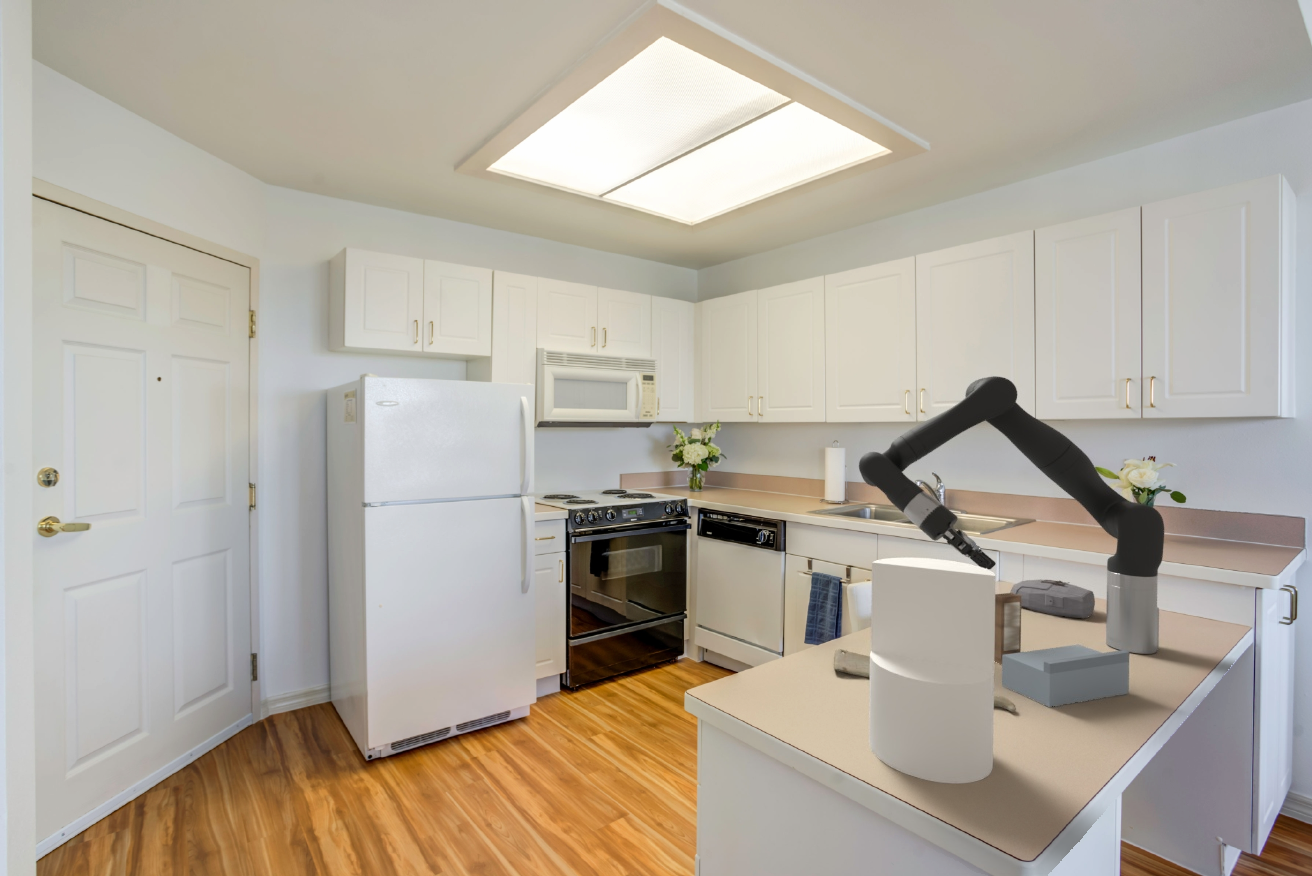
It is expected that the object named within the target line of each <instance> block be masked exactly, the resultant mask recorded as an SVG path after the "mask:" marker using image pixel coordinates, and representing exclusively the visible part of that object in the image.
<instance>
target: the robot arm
mask: <svg viewBox="0 0 1312 876" xmlns="http://www.w3.org/2000/svg"><path fill="white" fill-rule="evenodd" d="M1017 400H1018V390H1017V386H1016V385H1015V384H1014V383H1013V382H1012V381H1011V380H1010V379H1008V378H1006V377H1002V376H993V375H992V376H988V377H982V378H979V379H976V380H974V381H973V382H972V383H970V384H969V385H968V386H967V388H966V391H965V398H963V399H962V400H961V401H959V402H958V403H956V404H955V405H954V406H952V407H949V409H947V410H945V411H943V412H941V413H939V414H938V415H935V416H933V417H932V418H930V419H927V420H926V421H923V422H921V423H920V424H918V425H916V426H914V427H912V428H911V429H909V430H908V431H906V432H905V433H903V434H901V435H900V436H899V437H897V438H896V439H894V441H892V442H891V444H890V446H889V448H888V449H887V450H885V451H884V452H883V453H881V452H876V451H870V452H867V453H865V454H863V456H861V458H860V460H859V461H858V462H859V463H858V469H859V472H860V474H861V478H862V479H863V481H864V482H865V483H866V484H867V485H868V486H870V487H877V489H879V490H880V491H881V492H882V493H883V494H884V495H885V496H886V499H888V501H890V503H892V504H893V506H894V507H896V508H897V509H898V510H900V511H901V512H902V513H903V514H904V515H905V516H906V517H907V519H908V520H910V522H912V524H914V525H915V526H916V527H917V528H919V529H920V530H921V531H922V532H923V533H924V534H926V535H927V536H928V537H929V538H930V539H931V540H933V541H934V542H937V541H939V540H940V539H944V540H946V543H947V545H949V546H951V547H952V548H954V549H955V550H956V551H957V553H960V554H961V555H963V556H964V557H966V558H969V559H970V560H971V561H972V562H973V563H974V564H976V566H979V567H982V568H985V569H988V570H992V569H993V568H994V567H995V566H996V565H997V564H996V561H995V560H993V559H992V558H991V557H990V556H989V555H988V554H986V553H985V552H984V551H983V550H982V548H981V547H980V546H979V545H977V543H976V542H975V540H973V539H972V538H971V537H969V536H968V534H967V533H966V532H965V531H963V530H962V529H956V528H954V526H955V524H956V523H957V521H958V515H956V514H955V513H954V512H952V511H951V509H949V508H947V506H945V505H944V504H942V502H940V501H939V500H938V499H936V498H935V497H934V496H933V495H932V494H929V493H928V492H927V491H925V490H924V489H923V488H922V487H920V486H919V485H918V484H917V483H915V482H914V481H913V480H911V479H910V478H909V477H908V476H906V475H905V473H904V471H905V470H906V469H907V468H908V467H910V466H911V465H912V464H914V463H916V462H918V461H919V460H921V459H922V458H924V457H925V456H927V455H930V453H932V452H933V451H935V450H936V449H938V448H940V447H941V446H943V445H944V444H946V443H948V441H950V440H952V439H953V438H955V437H956V436H958V435H960V434H962V433H964V432H965V431H967V430H969V429H971V428H973V427H974V426H977V425H979V424H982V422H987V423H988V424H989V425H991V426H992V427H994V428H995V429H996V430H998V431H999V432H1000V433H1001V434H1002V435H1004V436H1005V437H1006V438H1007V439H1008V440H1009V441H1010V442H1011V444H1013V446H1015V448H1017V450H1019V451H1020V453H1022V454H1023V455H1024V456H1025V457H1026V458H1027V459H1028V460H1029V461H1030V462H1031V463H1032V464H1033V465H1034V466H1035V467H1036V468H1037V469H1038V470H1040V471H1041V472H1042V473H1043V474H1044V475H1045V476H1046V477H1047V478H1048V479H1050V480H1051V481H1052V482H1053V483H1055V485H1056V486H1058V487H1060V489H1062V490H1063V491H1064V492H1065V493H1067V495H1069V496H1070V497H1072V498H1074V500H1075V501H1077V502H1078V503H1079V504H1080V505H1081V506H1082V507H1083V508H1084V509H1085V510H1086V512H1088V513H1089V515H1090V516H1091V517H1092V518H1093V519H1094V520H1095V522H1097V524H1099V526H1100V527H1101V528H1102V529H1103V530H1104V531H1105V532H1106V533H1107V534H1108V535H1109V536H1111V537H1112V538H1114V539H1116V540H1117V541H1116V552H1115V553H1114V555H1111V556H1110V557H1109V558H1108V559H1107V560H1106V561H1107V563H1106V614H1105V615H1106V618H1105V621H1106V624H1105V628H1106V629H1105V630H1106V631H1105V632H1106V633H1105V636H1106V637H1105V643H1106V645H1107V646H1109V647H1111V648H1114V649H1115V650H1116V649H1117V650H1118V651H1120V650H1124V651H1127V652H1129V653H1134V654H1140V655H1141V654H1142V655H1143V654H1145V655H1147V654H1149V655H1151V654H1152V655H1153V654H1155V653H1157V650H1159V649H1160V648H1159V643H1160V641H1159V639H1160V608H1159V607H1158V579H1159V578H1158V576H1159V575H1158V573H1159V567H1160V566H1161V564H1162V562H1163V557H1164V544H1165V524H1164V519H1163V516H1162V515H1161V513H1160V512H1159V511H1158V509H1156V508H1155V507H1153V506H1150V505H1148V504H1143V503H1139V502H1132V501H1131V500H1128V499H1127V498H1126V497H1124V496H1122V495H1121V494H1120V493H1118V492H1117V491H1115V489H1113V488H1112V487H1110V486H1109V485H1108V484H1107V483H1106V482H1105V481H1104V480H1103V478H1102V477H1101V475H1100V474H1099V473H1098V472H1099V471H1097V469H1096V467H1095V465H1094V463H1093V462H1092V460H1091V459H1090V457H1089V456H1087V454H1086V453H1085V452H1084V451H1083V450H1082V449H1081V448H1079V447H1078V446H1077V445H1076V444H1075V442H1073V441H1072V440H1071V439H1070V438H1068V437H1067V436H1066V435H1064V434H1063V433H1061V432H1060V431H1058V430H1057V429H1055V428H1054V427H1052V426H1050V425H1049V424H1047V423H1045V422H1043V421H1042V420H1039V419H1038V418H1036V417H1034V416H1032V415H1031V414H1030V413H1028V411H1026V410H1025V409H1024V408H1022V407H1021V406H1020V405H1019V404H1018V403H1017Z"/></svg>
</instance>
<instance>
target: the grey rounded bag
mask: <svg viewBox="0 0 1312 876" xmlns="http://www.w3.org/2000/svg"><path fill="white" fill-rule="evenodd" d="M1009 593H1014V594H1018V595H1021V608H1025V609H1027V610H1029V611H1032V612H1036V613H1037V612H1038V613H1041V612H1042V614H1046V615H1051V614H1052V615H1051V616H1056V615H1057V616H1058V617H1062V616H1065V617H1064V618H1075V619H1084V618H1086V619H1088V618H1089V617H1091V615H1092V614H1093V612H1094V610H1095V604H1096V599H1095V594H1094V592H1093V591H1092V590H1091V589H1086V588H1084V587H1081V586H1078V585H1075V584H1070V582H1068V583H1067V582H1063V580H1051V579H1042V578H1041V579H1028V580H1022V581H1019V582H1017V583H1015V584H1013V585H1012V587H1011V589H1010V592H1009ZM1088 616H1089V617H1088ZM1087 617H1088V618H1087Z"/></svg>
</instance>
